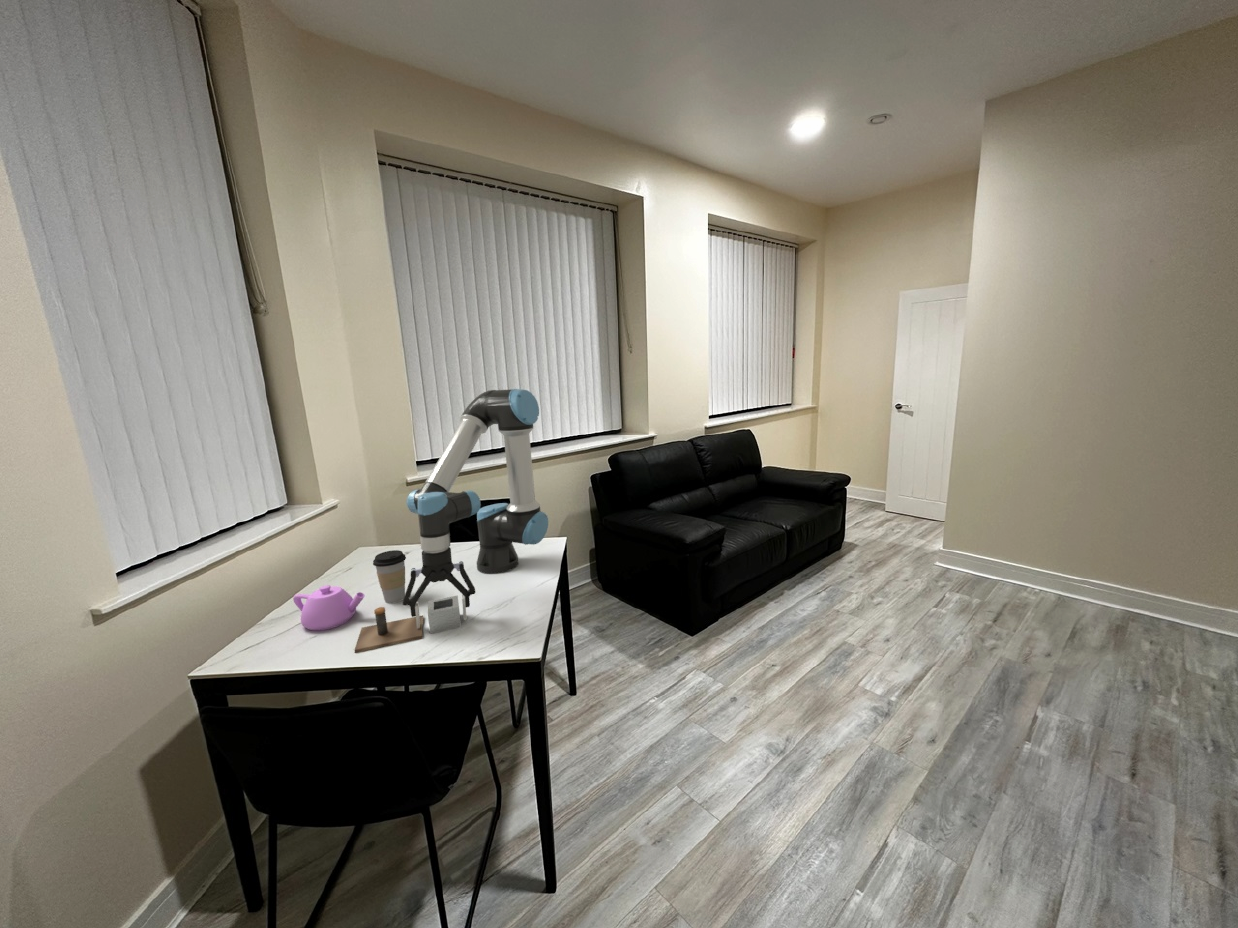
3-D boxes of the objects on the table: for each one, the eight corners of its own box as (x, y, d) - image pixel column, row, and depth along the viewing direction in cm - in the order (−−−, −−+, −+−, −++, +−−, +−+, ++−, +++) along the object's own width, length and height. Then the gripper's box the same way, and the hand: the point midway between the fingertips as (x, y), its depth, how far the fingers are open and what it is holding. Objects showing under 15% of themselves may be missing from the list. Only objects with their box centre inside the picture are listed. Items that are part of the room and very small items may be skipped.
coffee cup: (398, 606, 142) (391, 561, 139) (371, 605, 144) (365, 559, 141) (417, 593, 151) (411, 549, 148) (392, 591, 153) (386, 548, 150)
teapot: (355, 630, 129) (350, 595, 127) (282, 634, 128) (276, 599, 126) (378, 607, 143) (374, 574, 141) (312, 610, 142) (307, 578, 140)
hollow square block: (459, 614, 136) (457, 595, 135) (460, 627, 128) (458, 607, 127) (430, 620, 133) (428, 600, 132) (430, 633, 126) (427, 613, 124)
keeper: (423, 617, 135) (420, 592, 133) (422, 638, 123) (418, 611, 122) (362, 630, 129) (358, 604, 128) (354, 652, 118) (350, 624, 116)
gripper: (480, 539, 134) (484, 608, 138) (389, 550, 126) (396, 623, 129) (482, 547, 127) (487, 619, 131) (386, 559, 119) (394, 636, 122)
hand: (442, 621), depth 130 cm, fingers open, 12 cm apart
